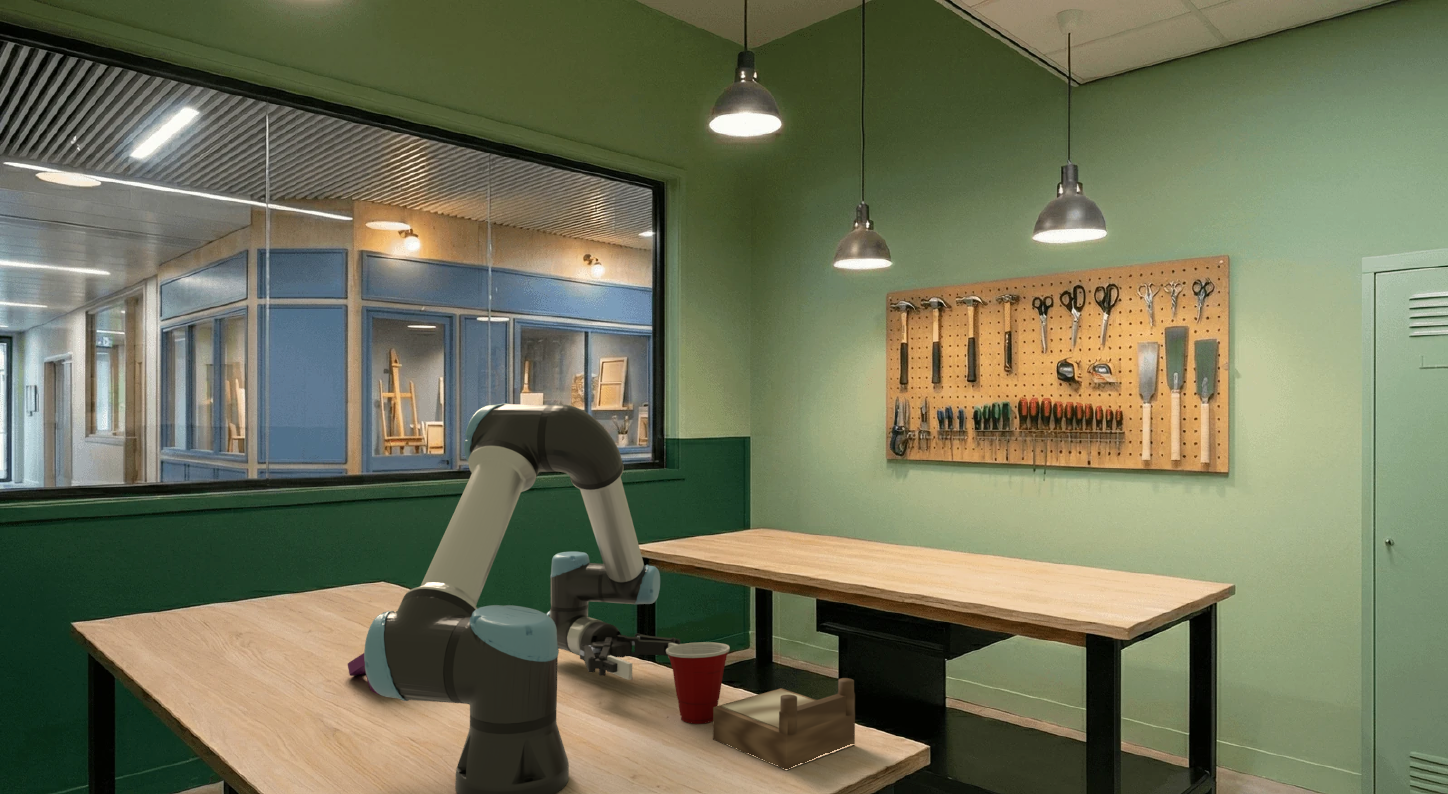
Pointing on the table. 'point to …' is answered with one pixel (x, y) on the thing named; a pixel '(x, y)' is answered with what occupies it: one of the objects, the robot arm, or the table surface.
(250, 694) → the table surface
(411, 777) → the table surface
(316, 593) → the table surface
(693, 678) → the plastic cup
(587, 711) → the table surface
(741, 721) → the walnut stand
